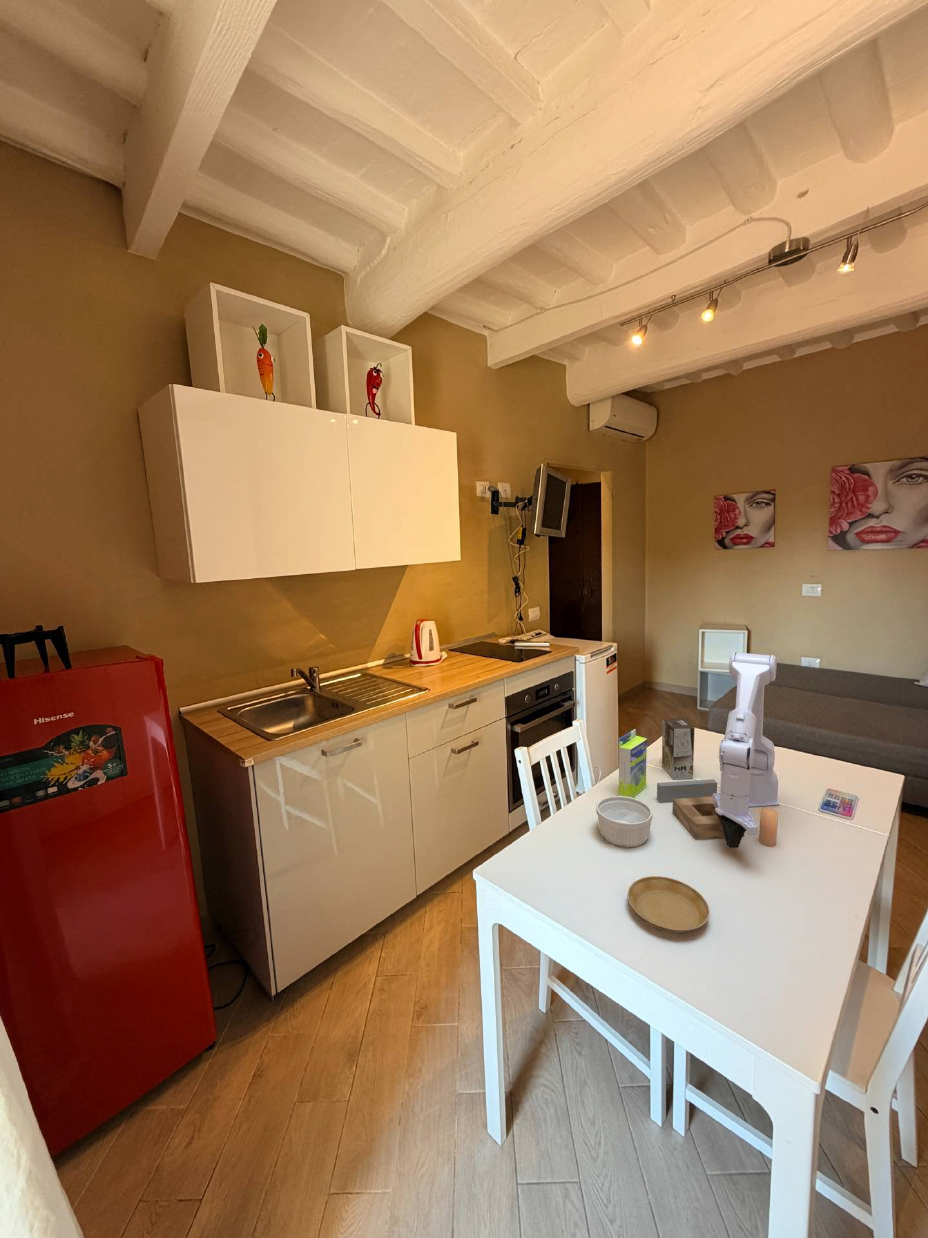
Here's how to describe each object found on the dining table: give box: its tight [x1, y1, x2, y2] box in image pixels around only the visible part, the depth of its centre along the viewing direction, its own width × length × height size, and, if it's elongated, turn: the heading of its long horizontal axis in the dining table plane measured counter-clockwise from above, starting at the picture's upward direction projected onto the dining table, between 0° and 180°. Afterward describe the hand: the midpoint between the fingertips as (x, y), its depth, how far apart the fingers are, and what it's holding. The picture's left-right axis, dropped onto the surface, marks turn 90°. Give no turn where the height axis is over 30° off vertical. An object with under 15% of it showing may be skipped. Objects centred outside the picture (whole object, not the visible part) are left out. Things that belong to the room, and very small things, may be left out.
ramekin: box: [595, 795, 653, 848], centre depth 122 cm, size 13×13×7 cm
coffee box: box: [661, 717, 696, 780], centre depth 152 cm, size 9×6×16 cm
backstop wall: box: [656, 778, 718, 804], centre depth 136 cm, size 16×2×5 cm, turn 92°
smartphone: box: [818, 788, 860, 821], centre depth 131 cm, size 7×1×15 cm
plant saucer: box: [627, 875, 710, 934], centre depth 96 cm, size 15×15×3 cm
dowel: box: [758, 806, 779, 848], centre depth 116 cm, size 4×4×8 cm
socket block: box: [672, 796, 745, 841], centre depth 124 cm, size 12×12×4 cm
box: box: [618, 728, 648, 798], centre depth 141 cm, size 10×4×17 cm, turn 135°
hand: (732, 846), depth 113 cm, fingers closed
